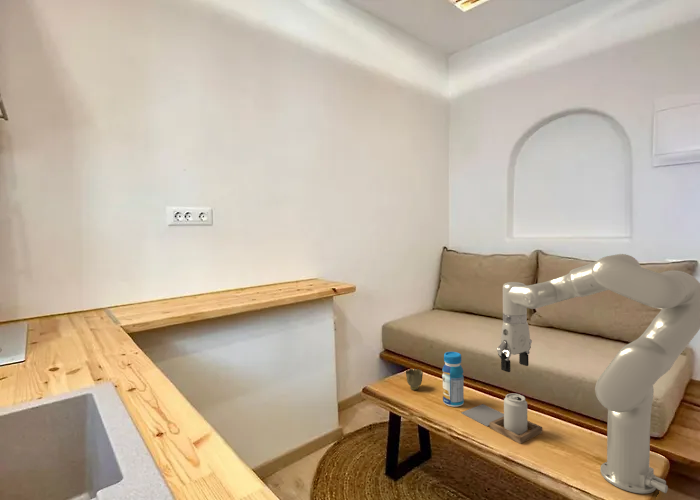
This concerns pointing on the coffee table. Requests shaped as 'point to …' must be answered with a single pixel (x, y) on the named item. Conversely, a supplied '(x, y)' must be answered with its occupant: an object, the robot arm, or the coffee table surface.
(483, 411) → the mat
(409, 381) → the cup
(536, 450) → the coffee table surface
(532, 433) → the wooden picture frame
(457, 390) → the beverage bottle
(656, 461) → the coffee table surface
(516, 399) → the can
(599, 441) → the coffee table surface
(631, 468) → the robot arm
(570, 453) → the coffee table surface
